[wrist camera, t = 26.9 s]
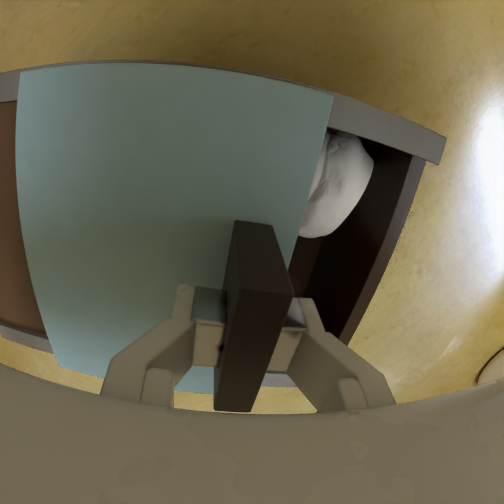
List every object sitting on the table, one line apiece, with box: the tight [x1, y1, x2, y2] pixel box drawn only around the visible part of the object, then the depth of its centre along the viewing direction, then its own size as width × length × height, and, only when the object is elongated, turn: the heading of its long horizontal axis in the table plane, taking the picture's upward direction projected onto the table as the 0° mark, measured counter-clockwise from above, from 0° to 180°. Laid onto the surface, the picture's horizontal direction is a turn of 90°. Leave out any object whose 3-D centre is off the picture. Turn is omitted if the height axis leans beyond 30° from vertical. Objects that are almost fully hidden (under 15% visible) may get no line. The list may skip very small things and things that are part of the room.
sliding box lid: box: [15, 63, 334, 412], centre depth 8 cm, size 10×14×4 cm
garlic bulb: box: [298, 129, 374, 238], centre depth 13 cm, size 6×6×5 cm
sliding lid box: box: [0, 60, 446, 387], centre depth 14 cm, size 20×14×8 cm
